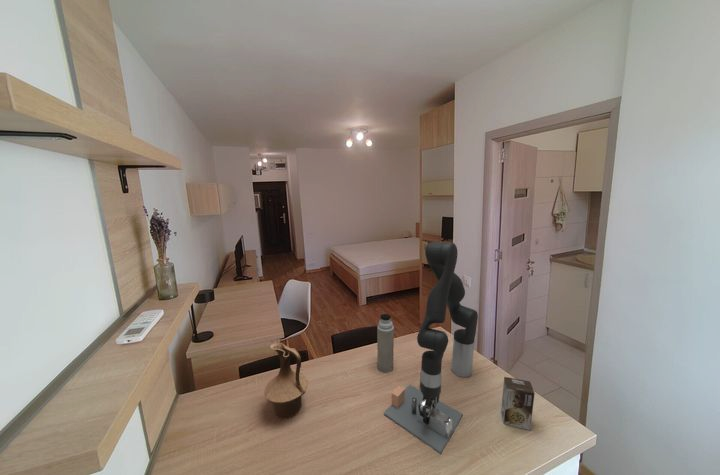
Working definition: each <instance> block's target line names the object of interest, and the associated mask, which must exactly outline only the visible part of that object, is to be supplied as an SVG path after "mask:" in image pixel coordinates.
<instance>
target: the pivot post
mask: <svg viewBox="0 0 720 475" xmlns="http://www.w3.org/2000/svg"><path fill="white" fill-rule="evenodd" d="M416 404H417V399H416V398H414V397H413V398H412V414H416Z"/></svg>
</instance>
